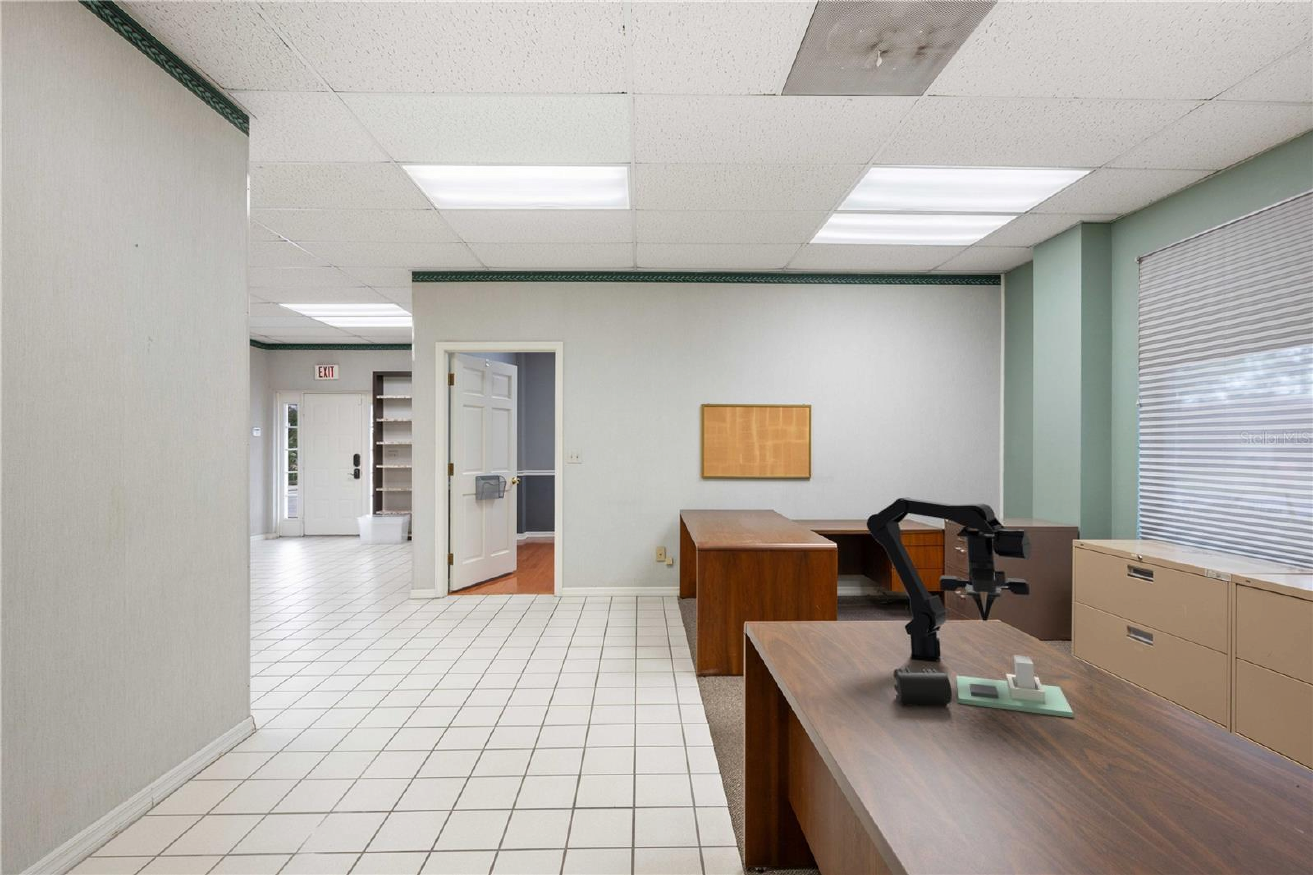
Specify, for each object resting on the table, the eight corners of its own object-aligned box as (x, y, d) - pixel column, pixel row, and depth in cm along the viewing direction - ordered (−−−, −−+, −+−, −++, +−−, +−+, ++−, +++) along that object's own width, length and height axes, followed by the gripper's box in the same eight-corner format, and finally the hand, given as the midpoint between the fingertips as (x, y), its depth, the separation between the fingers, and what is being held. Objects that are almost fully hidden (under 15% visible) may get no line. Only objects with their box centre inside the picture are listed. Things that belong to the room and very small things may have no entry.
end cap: (902, 711, 120) (900, 677, 120) (893, 697, 127) (891, 665, 127) (953, 712, 118) (951, 678, 119) (941, 698, 125) (939, 666, 126)
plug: (1018, 696, 122) (1016, 662, 123) (1015, 686, 128) (1013, 653, 128) (1035, 698, 121) (1033, 664, 121) (1031, 688, 126) (1029, 655, 127)
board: (958, 703, 122) (957, 688, 122) (956, 680, 135) (955, 666, 135) (1073, 717, 114) (1072, 702, 114) (1059, 691, 126) (1058, 677, 126)
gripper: (938, 559, 138) (942, 626, 137) (1030, 562, 130) (1035, 633, 129) (938, 552, 148) (942, 614, 147) (1023, 555, 140) (1028, 620, 139)
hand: (984, 620), depth 141 cm, fingers closed
